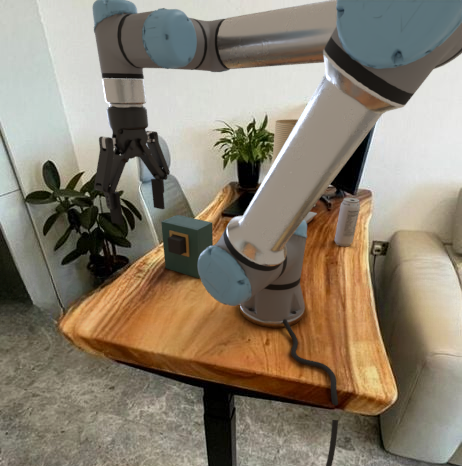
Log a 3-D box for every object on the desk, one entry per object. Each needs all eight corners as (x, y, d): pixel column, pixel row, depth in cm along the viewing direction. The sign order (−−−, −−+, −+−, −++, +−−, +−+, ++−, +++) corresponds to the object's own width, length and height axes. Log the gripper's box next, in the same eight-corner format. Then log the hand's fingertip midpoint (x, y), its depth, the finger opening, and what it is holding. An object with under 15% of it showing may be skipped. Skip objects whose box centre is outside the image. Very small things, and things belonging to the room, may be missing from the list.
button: (180, 255, 93) (179, 241, 91) (168, 251, 95) (167, 237, 93) (191, 248, 97) (190, 235, 95) (180, 245, 99) (179, 232, 97)
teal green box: (198, 279, 97) (196, 230, 90) (164, 268, 102) (160, 221, 95) (213, 269, 102) (212, 222, 95) (180, 259, 107) (177, 214, 100)
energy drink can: (345, 239, 124) (353, 196, 116) (355, 245, 119) (365, 201, 111) (330, 241, 122) (337, 197, 114) (340, 247, 117) (349, 203, 109)
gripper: (155, 103, 78) (163, 199, 89) (57, 107, 60) (83, 227, 71) (181, 104, 75) (186, 204, 86) (87, 109, 57) (109, 235, 68)
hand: (139, 215), depth 79 cm, fingers open, 12 cm apart
